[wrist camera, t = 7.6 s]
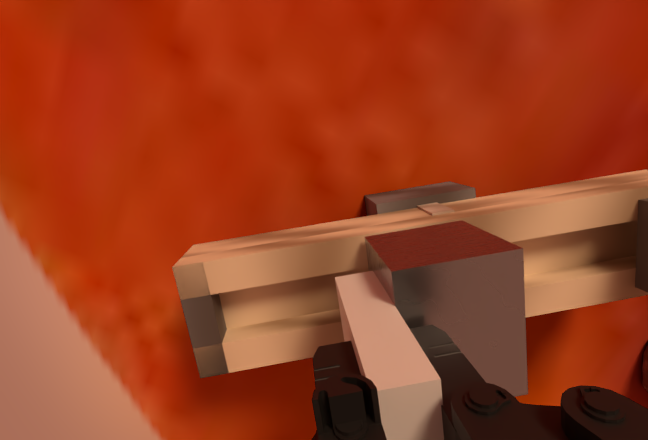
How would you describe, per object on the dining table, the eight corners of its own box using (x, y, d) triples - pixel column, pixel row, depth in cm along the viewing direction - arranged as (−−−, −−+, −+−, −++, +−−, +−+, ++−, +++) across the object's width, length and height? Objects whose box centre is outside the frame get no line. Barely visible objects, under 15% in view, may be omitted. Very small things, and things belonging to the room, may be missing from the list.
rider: (372, 334, 17) (408, 417, 12) (359, 229, 16) (391, 271, 11) (457, 318, 17) (527, 393, 12) (449, 214, 16) (523, 248, 11)
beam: (227, 319, 22) (183, 444, 13) (205, 221, 20) (138, 284, 11) (596, 253, 23) (792, 325, 14) (597, 157, 22) (815, 168, 13)
